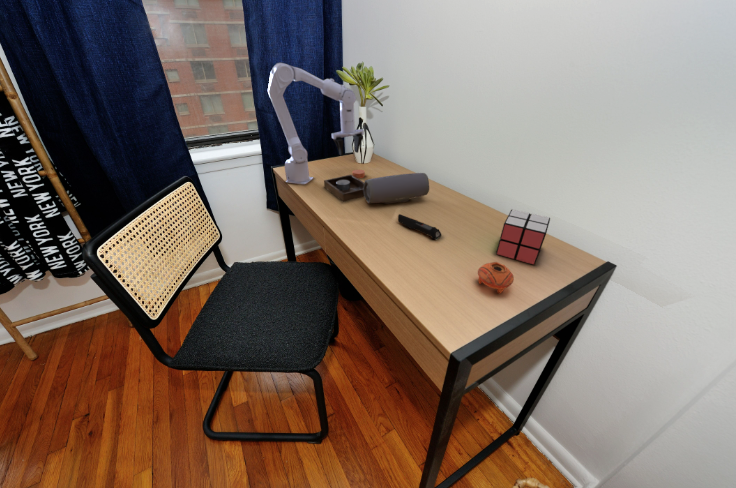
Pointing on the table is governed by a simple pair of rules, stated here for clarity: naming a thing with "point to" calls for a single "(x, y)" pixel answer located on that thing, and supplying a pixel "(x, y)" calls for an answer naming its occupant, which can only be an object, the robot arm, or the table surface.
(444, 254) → the table surface
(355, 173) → the terracotta coaster
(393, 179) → the bluetooth speaker
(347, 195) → the dark brown tray
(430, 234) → the electric trimmer
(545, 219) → the puzzle cube
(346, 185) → the gray and black puck
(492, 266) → the pot
